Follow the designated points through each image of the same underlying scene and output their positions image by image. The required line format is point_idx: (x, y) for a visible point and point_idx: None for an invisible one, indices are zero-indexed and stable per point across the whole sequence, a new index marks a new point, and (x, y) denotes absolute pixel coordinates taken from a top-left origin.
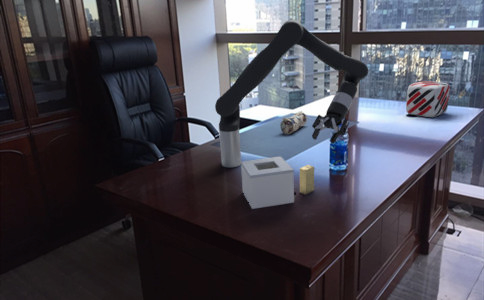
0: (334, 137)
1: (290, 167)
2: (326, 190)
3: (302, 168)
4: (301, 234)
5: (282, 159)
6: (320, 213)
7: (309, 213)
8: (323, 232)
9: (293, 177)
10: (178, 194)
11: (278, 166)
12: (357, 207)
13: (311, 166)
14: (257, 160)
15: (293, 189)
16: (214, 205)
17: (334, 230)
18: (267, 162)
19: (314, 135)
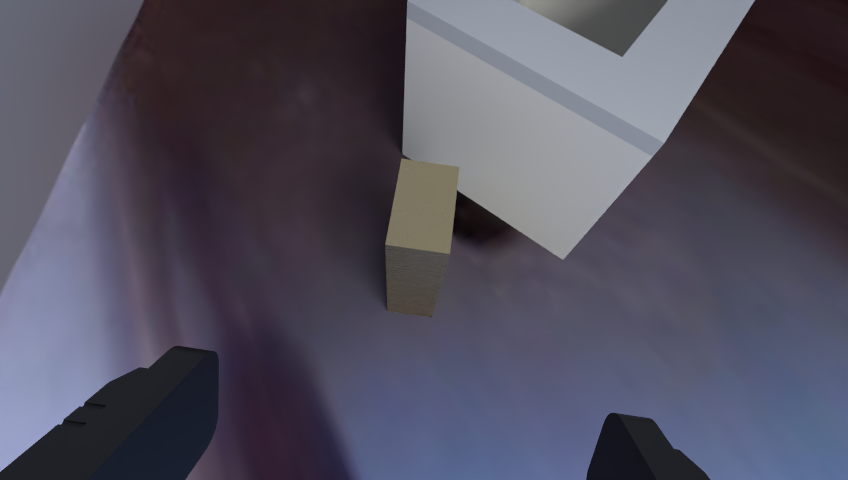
0: (88, 420)
1: (446, 17)
2: (322, 348)
3: (441, 175)
4: (262, 4)
5: (599, 100)
6: (254, 127)
7: (296, 110)
8: (197, 35)
9: (406, 48)
10: (797, 27)
11: (526, 9)
12: (98, 246)
13: (404, 235)
14: (711, 27)
15: (405, 105)
16: None
17: (162, 57)
18: (639, 36)
19: (631, 446)
